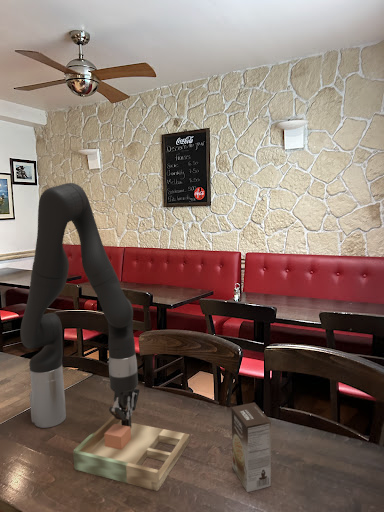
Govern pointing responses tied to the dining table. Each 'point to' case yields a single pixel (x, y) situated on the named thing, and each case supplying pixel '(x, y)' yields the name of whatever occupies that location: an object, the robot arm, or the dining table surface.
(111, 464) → the box
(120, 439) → the block
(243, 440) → the coffee box
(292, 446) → the dining table surface
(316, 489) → the dining table surface
